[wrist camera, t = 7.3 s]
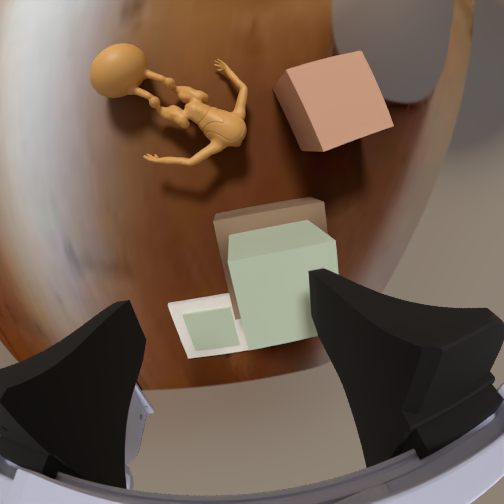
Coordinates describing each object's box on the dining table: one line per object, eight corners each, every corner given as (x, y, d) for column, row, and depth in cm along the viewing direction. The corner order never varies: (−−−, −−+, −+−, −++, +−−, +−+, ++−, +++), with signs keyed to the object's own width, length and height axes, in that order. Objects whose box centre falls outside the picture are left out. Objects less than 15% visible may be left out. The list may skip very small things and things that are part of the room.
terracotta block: (358, 128, 18) (393, 126, 13) (301, 150, 18) (323, 151, 14) (332, 69, 16) (361, 50, 12) (272, 88, 17) (286, 69, 12)
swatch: (252, 346, 24) (252, 350, 23) (189, 355, 24) (188, 359, 23) (239, 291, 22) (239, 294, 21) (168, 302, 22) (167, 306, 21)
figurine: (65, 113, 14) (192, 188, 21) (45, 99, 9) (218, 202, 16) (133, 26, 14) (248, 106, 20) (143, -11, 9) (290, 96, 15)
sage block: (307, 219, 17) (335, 240, 12) (316, 290, 19) (340, 329, 14) (229, 235, 17) (227, 262, 12) (244, 305, 18) (248, 350, 14)
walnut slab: (320, 283, 22) (332, 299, 19) (234, 300, 22) (235, 319, 19) (311, 196, 20) (324, 201, 17) (216, 213, 20) (213, 221, 17)
